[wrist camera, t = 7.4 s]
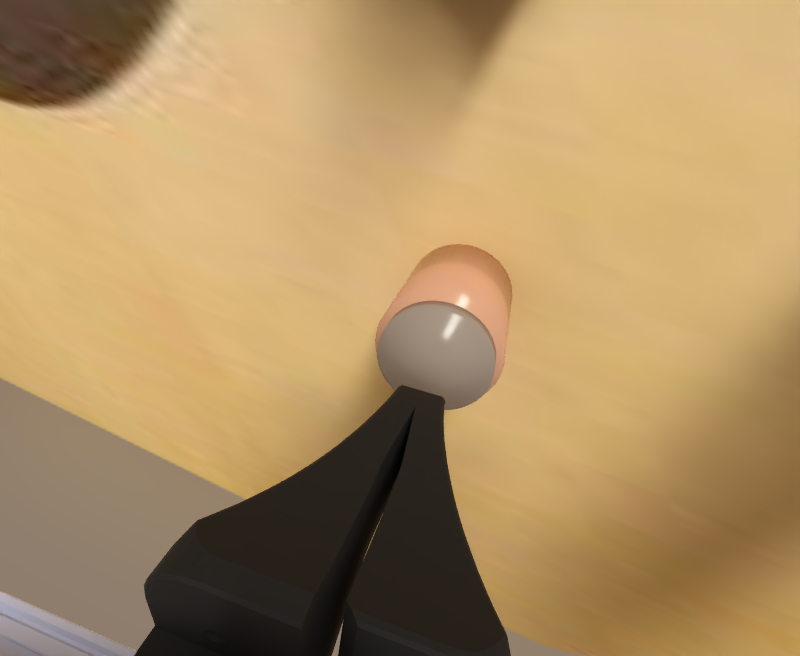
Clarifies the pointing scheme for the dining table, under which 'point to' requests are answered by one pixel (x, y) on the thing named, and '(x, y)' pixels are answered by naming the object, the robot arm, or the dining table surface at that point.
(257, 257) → the dining table surface
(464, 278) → the terracotta jar
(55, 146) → the dining table surface
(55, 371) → the dining table surface
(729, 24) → the dining table surface
